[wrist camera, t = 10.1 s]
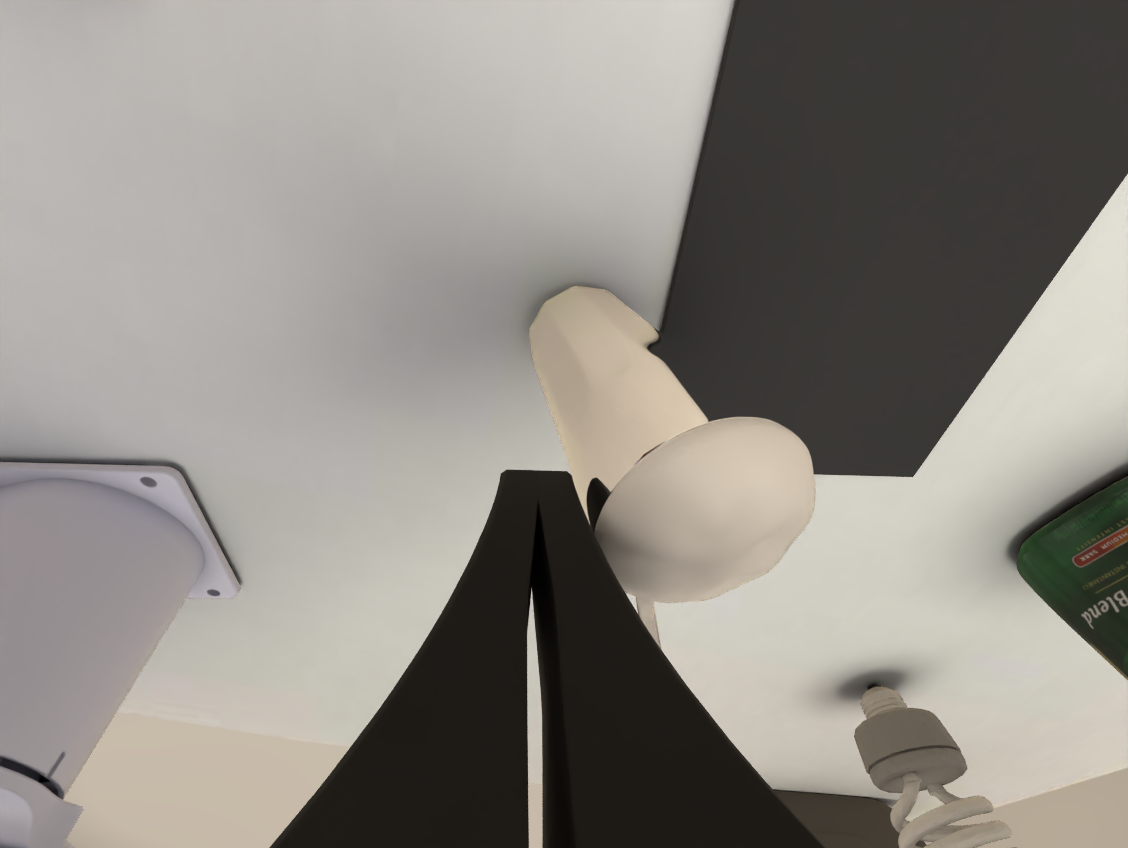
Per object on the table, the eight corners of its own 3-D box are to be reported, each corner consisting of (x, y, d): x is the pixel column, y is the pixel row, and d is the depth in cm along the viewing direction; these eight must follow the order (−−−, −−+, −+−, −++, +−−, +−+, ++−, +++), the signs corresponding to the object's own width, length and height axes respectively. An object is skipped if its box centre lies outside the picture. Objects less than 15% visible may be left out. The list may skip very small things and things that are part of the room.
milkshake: (471, 390, 16) (560, 710, 8) (552, 235, 14) (774, 476, 6) (585, 426, 18) (737, 702, 11) (669, 298, 16) (936, 530, 8)
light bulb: (933, 677, 33) (1092, 930, 24) (862, 710, 36) (980, 949, 27) (884, 657, 31) (1038, 926, 22) (812, 693, 34) (921, 947, 25)
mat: (630, 464, 20) (631, 469, 20) (819, -370, 8) (827, -381, 8) (908, 472, 21) (913, 477, 21) (1413, -253, 10) (1435, -261, 9)
